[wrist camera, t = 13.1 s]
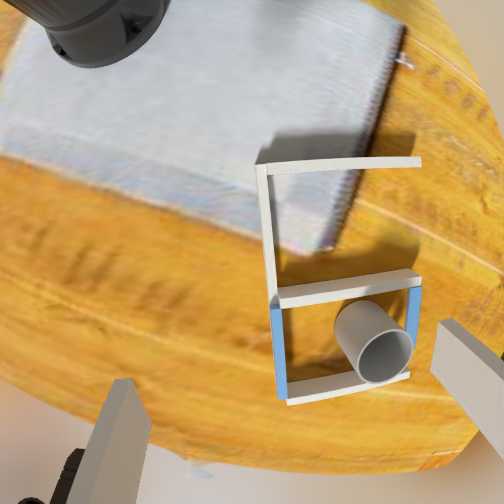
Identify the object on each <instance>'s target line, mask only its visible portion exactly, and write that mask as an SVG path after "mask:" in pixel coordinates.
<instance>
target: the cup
mask: <svg viewBox="0 0 504 504" xmlns="http://www.w3.org/2000/svg"><path fill="white" fill-rule="evenodd" d="M334 334H335V337H336V340H337V342H338V343H339V345H340V346H341V348H342V350H343V351H344V353H345V355H346V356H347V358H348V359H349V361H350V363H351V364H352V366H353V368H354V369H355V371H356V372H357V374H358V376H359V377H360V378H361V380H363V381H365V382H366V383H370V384H381V383H384V382H387V381H389V380H391V379H393V378H395V377H396V376H397V375H399V374H401V372H402V371H403V370H404V369H405V368H406V366H407V365H408V363H409V362H410V359H411V357H412V354H413V348H414V346H413V340H412V338H411V336H410V335H409V334H408V333H407V332H406V331H405V330H404V329H403V328H402V327H401V326H400V325H399V324H398V323H397V322H396V321H395V320H393V319H392V318H391V317H390V316H389V315H388V314H387V313H386V312H385V311H384V310H383V309H382V308H381V307H380V306H378V305H377V304H376V303H374V302H372V301H369V300H360V301H356V302H353V303H351V304H349V305H348V306H347V307H345V308H344V309H343V310H342V311H341V312H340V314H339V315H338V317H337V319H336V321H335V325H334Z"/></svg>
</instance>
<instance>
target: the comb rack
mask: <svg viewBox="0 0 504 504" xmlns="http://www.w3.org/2000/svg"><path fill="white" fill-rule="evenodd" d="M254 166H255V175H256V185H257V194H258V204H259V214H260V223H261V233H262V243H263V253H264V263H265V273H266V283H267V294H268V304H269V315H270V325H271V336H272V347H273V358H274V369H275V380H276V391H277V396H278V400H282V399H286V402H287V406H288V405H294V404H300V403H306V402H312V401H317V400H322V399H327V398H332V397H337V396H341V395H346V394H350V393H354V392H358V391H363V390H367V389H371V388H374V387H378V386H382V385H386V384H389V383H393V382H396V381H400V380H403V379H406V378H409V376H410V370H409V369H408V368H407V367H406V368H405V369H404V370H403V371H402V372H401V374H399V375H397V376H396V377H395V378H393V379H391V380H389V381H387V382H384V383H381V384H370V383H366V382H365V381H363V380H361V378H360V377H359V376H358V374H357V372H356V371H355V370H353V371H349V372H344V373H339V374H335V375H330V376H324V377H319V378H314V379H308V380H302V381H296V382H290V383H287V379H286V364H285V350H284V336H283V323H282V310H281V309H285V308H292V307H299V306H306V305H312V304H319V303H325V302H331V301H338V300H344V299H350V298H356V297H361V296H367V295H373V294H378V293H384V292H389V291H394V290H399V289H404V288H408V300H407V312H406V323H405V331H406V332H407V333H408V334H409V335H410V336H411V338H412V340H413V346H414V348H413V349H415V344H416V337H417V330H418V322H419V313H420V303H421V292H422V286H421V280H422V276H421V275H419V274H417V273H416V272H414V271H412V270H411V269H409V268H406V269H400V270H394V271H388V272H382V273H376V274H369V275H363V276H356V277H350V278H343V279H337V280H330V281H323V282H316V283H309V284H302V285H294V286H287V287H279V288H277V278H276V267H275V256H274V245H273V234H272V224H271V213H270V203H269V193H268V183H267V175H275V174H286V173H298V172H312V171H326V170H343V169H363V168H393V167H421V157H359V158H335V159H317V160H301V161H288V162H276V163H266V164H258V165H254Z"/></svg>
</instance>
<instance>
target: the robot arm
mask: <svg viewBox="0 0 504 504" xmlns="http://www.w3.org/2000/svg"><path fill="white" fill-rule="evenodd" d="M3 1H5V2H7V3H8V4H10V5H11V6H13V7H14V8H16V9H18V10H19V11H21V12H22V13H24V14H25V15H27V16H28V17H30V18H31V19H33V20H34V21H36V22H37V23H39V24H40V25H42V26H43V27H44V28H45V30H46V33H47V35H48V38H49V40H50V43H51V45H52V47H53V49H54V51H55V52H56V53H57V54H58V55H59V56H60V57H61V58H62V59H64V60H65V61H67V62H69V63H70V64H72V65H74V66H77V67H81V68H99V67H103V66H107V65H110V64H113V63H116V62H118V61H120V60H122V59H124V58H126V57H128V56H129V55H131V54H132V53H134V52H135V51H136V50H138V49H139V48H140V47H141V46H142V45H144V44H145V43H146V42H147V41H148V40H149V38H150V37H151V36H152V35H153V34H154V32H155V31H156V29H157V28H158V26H159V24H160V22H161V20H162V18H163V15H164V11H165V0H3ZM430 371H431V372H432V373H433V374H434V376H435V377H436V378H437V379H438V380H439V381H440V383H441V384H442V385H443V386H444V387H445V388H446V390H447V391H448V392H449V393H450V394H451V396H452V397H453V398H454V399H455V400H456V401H457V403H458V404H459V405H460V406H461V407H462V409H463V410H464V411H465V412H466V414H467V415H468V416H469V417H470V418H471V420H472V421H473V422H474V423H475V425H476V426H477V427H478V428H479V430H480V431H481V432H482V433H483V435H484V436H485V437H486V438H487V440H488V441H489V442H490V443H491V445H492V446H493V447H494V448H495V450H496V451H497V452H498V454H499V455H500V456H501V458H502V459H503V460H504V361H503V360H502V359H500V358H499V357H498V356H497V355H496V354H495V353H493V352H492V351H491V350H490V349H489V348H488V347H486V346H485V345H484V344H483V343H482V342H480V341H479V340H478V339H477V338H476V337H474V336H473V335H472V334H471V333H470V332H468V331H467V330H466V329H465V328H464V327H462V326H461V325H460V324H459V323H457V322H456V321H455V320H454V319H452V318H449V319H446V320H443V321H440V322H438V329H437V335H436V342H435V347H434V353H433V358H432V364H431V369H430ZM151 427H152V423H151V421H150V418H149V416H148V414H147V412H146V410H145V408H144V406H143V404H142V401H141V399H140V397H139V395H138V393H137V390H136V388H135V386H134V383H133V381H132V379H131V378H127V379H115V380H114V382H113V385H112V387H111V389H110V391H109V394H108V396H107V398H106V401H105V403H104V405H103V408H102V410H101V412H100V415H99V417H98V420H97V422H96V425H95V427H94V430H93V432H92V434H91V438H90V439H89V442H88V445H87V447H86V449H78V448H76V449H75V450H74V451H73V452H72V454H71V455H70V456H69V457H68V458H67V461H66V463H65V465H64V470H63V471H62V473H61V475H60V479H59V480H58V483H57V485H56V488H55V491H54V493H53V496H52V499H51V501H50V504H136V498H137V493H138V488H139V483H140V478H141V473H142V468H143V463H144V459H145V454H146V449H147V445H148V440H149V436H150V431H151ZM18 504H44V503H43V502H42V501H40V500H39V499H38V498H32V497H30V498H25V499H23V500H22V501H20V502H19V503H18Z"/></svg>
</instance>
